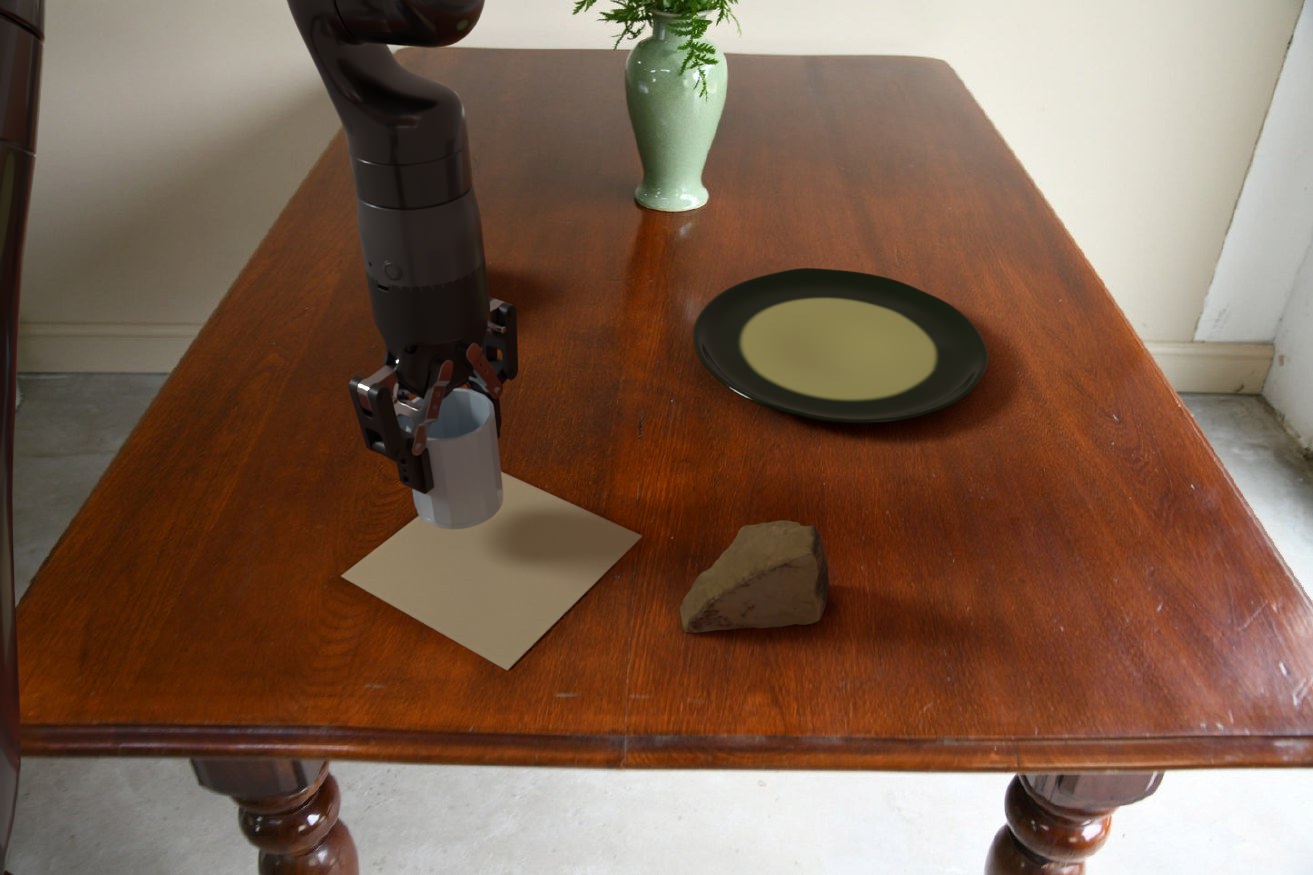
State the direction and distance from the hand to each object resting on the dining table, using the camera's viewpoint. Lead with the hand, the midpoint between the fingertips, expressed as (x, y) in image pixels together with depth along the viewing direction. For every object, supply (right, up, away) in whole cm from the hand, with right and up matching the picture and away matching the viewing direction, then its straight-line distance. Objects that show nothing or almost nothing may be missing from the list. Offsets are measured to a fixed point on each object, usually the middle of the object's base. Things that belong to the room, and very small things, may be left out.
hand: (454, 461), depth 75 cm
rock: (+22, -11, -1) cm, 24 cm away
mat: (+3, -7, +3) cm, 8 cm away
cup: (0, -3, +2) cm, 4 cm away
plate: (+32, +9, +26) cm, 42 cm away
